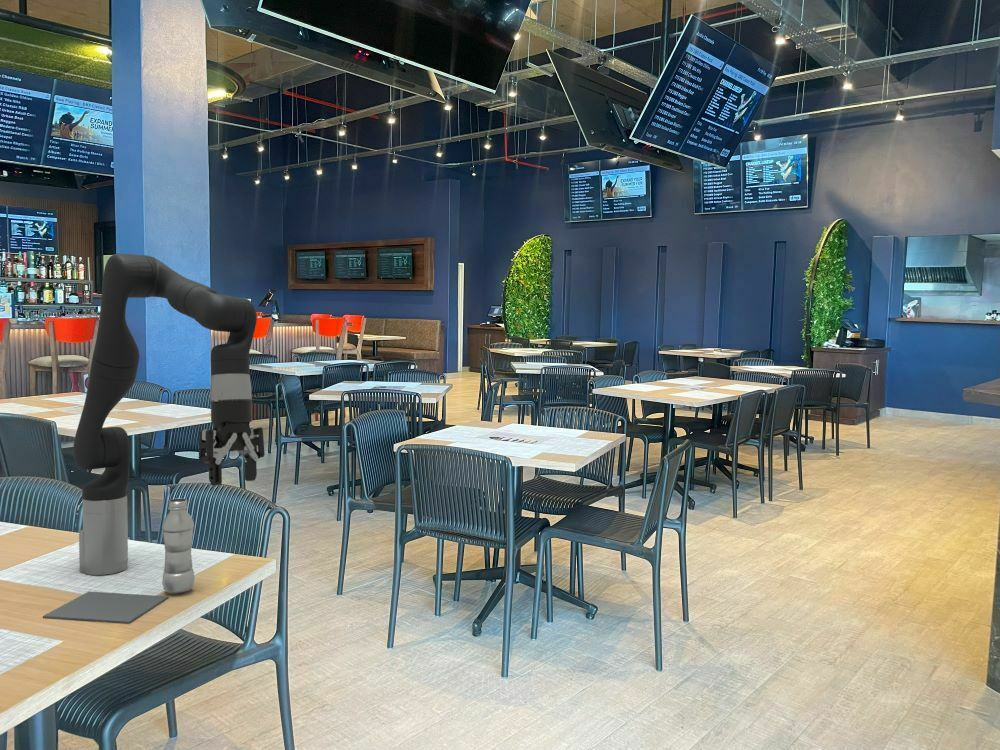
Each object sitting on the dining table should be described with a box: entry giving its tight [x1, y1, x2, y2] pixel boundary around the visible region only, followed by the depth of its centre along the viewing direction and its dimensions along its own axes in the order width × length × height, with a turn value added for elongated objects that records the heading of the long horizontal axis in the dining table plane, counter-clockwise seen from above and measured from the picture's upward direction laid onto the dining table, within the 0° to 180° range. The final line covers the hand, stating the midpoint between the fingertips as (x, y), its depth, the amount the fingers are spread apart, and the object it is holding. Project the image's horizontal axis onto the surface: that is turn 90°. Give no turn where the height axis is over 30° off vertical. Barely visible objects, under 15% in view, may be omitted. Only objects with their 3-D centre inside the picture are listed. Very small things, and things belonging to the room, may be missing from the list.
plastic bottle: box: [161, 497, 195, 595], centre depth 166 cm, size 6×7×20 cm
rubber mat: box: [42, 591, 169, 625], centre depth 156 cm, size 18×14×1 cm
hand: (233, 482), depth 148 cm, fingers open, 8 cm apart
